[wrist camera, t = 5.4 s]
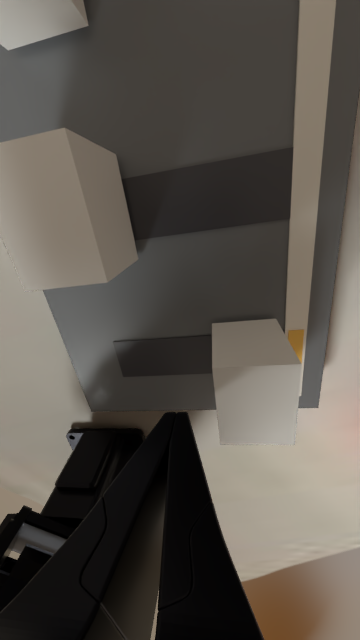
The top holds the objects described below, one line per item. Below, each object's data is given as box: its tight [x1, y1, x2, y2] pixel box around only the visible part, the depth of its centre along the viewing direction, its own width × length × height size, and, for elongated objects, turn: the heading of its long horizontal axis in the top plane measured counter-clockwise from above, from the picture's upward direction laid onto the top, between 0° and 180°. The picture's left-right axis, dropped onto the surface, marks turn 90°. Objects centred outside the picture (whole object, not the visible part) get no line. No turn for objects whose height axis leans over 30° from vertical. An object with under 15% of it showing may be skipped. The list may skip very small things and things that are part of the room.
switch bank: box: [0, 0, 360, 412], centre depth 11 cm, size 23×14×2 cm, turn 8°
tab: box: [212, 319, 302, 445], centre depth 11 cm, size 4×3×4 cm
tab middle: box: [0, 128, 138, 292], centre depth 9 cm, size 4×3×4 cm
